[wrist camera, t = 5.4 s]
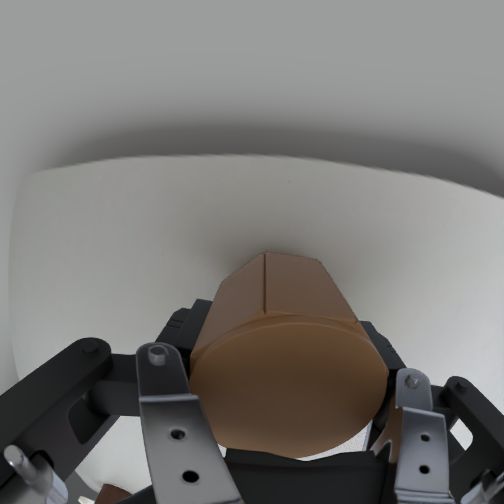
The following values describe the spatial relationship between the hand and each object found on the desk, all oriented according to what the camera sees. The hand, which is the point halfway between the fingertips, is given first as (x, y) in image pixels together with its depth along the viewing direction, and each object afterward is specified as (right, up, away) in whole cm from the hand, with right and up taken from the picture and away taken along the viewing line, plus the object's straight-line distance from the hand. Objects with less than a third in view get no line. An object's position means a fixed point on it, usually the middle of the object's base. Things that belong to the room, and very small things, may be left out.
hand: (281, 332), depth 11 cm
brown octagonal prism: (0, 0, +2) cm, 2 cm away
